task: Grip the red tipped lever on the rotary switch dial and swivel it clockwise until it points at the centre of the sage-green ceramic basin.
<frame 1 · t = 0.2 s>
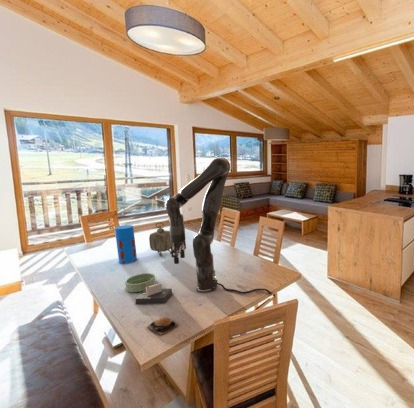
hand: (179, 260, 153), 17 cm above the table, tool pointing down, fingers open, 8 cm apart
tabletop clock: (162, 254, 209), on the table
open sandwich: (162, 327, 123), on the table
basin: (141, 286, 159), on the table
thermos: (128, 260, 197), on the table
red tipped lever: (153, 289, 145), point 5 cm above the table, hinge at 45.0°
rotary switch dial: (154, 298, 146), on the table
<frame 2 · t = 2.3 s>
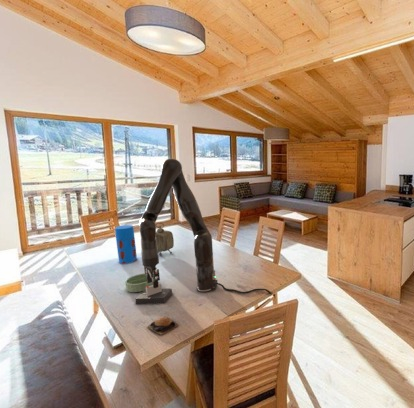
hand: (152, 284, 145), 8 cm above the table, tool pointing down, fingers open, 8 cm apart
nothing on the table moved.
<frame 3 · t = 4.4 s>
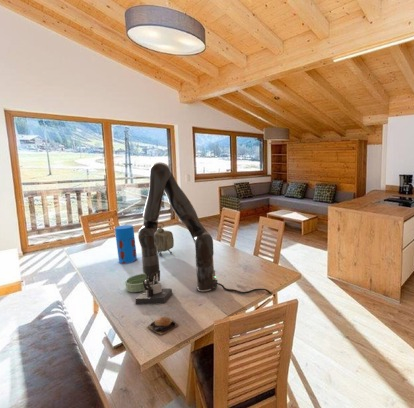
hand: (153, 292, 146), 3 cm above the table, tool pointing down, fingers open, 4 cm apart
red tipped lever: (153, 289, 145), point 5 cm above the table, hinge at 33.1°, touching gripper
everything else where it was.
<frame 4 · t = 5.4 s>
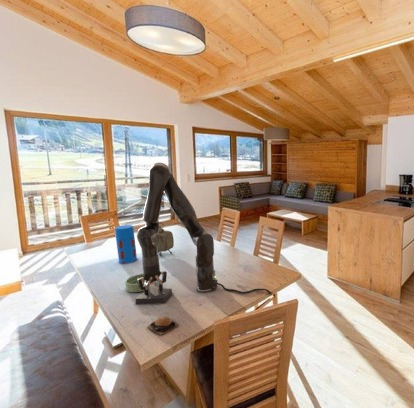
hand: (154, 293, 146), 3 cm above the table, tool pointing down, fingers open, 6 cm apart
red tipped lever: (153, 289, 145), point 5 cm above the table, hinge at -43.7°
everything else where it was.
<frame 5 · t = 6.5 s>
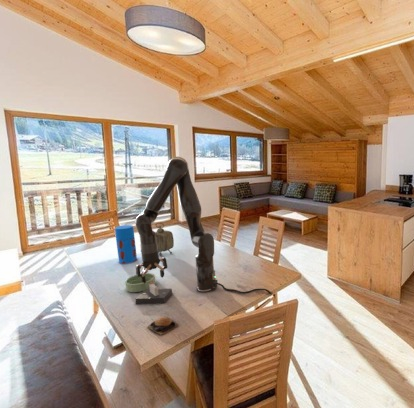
hand: (153, 279, 145), 10 cm above the table, tool pointing down, fingers open, 8 cm apart
nothing on the table moved.
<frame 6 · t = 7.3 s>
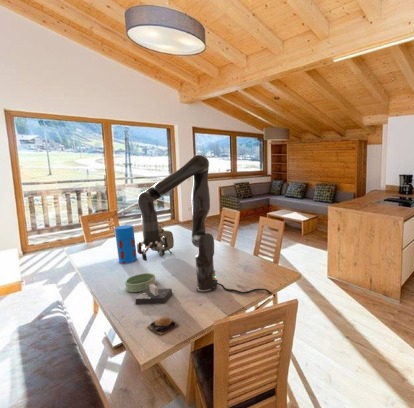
hand: (154, 258, 147), 21 cm above the table, tool pointing down, fingers open, 8 cm apart
nothing on the table moved.
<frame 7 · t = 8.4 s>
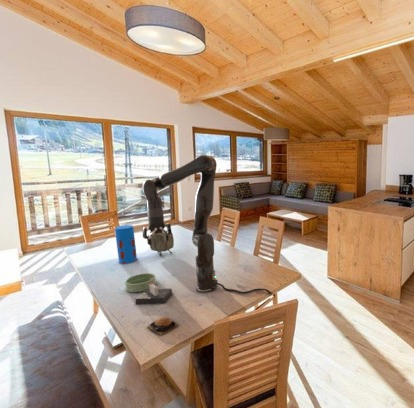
hand: (158, 243, 155), 26 cm above the table, tool pointing down, fingers open, 8 cm apart
nothing on the table moved.
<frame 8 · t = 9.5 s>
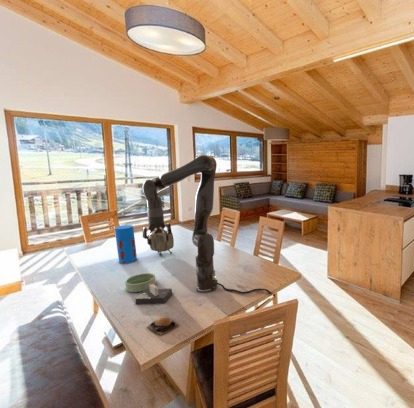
hand: (158, 243, 155), 26 cm above the table, tool pointing down, fingers open, 8 cm apart
nothing on the table moved.
at the end: red tipped lever at -44° (first picture: +45°) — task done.
